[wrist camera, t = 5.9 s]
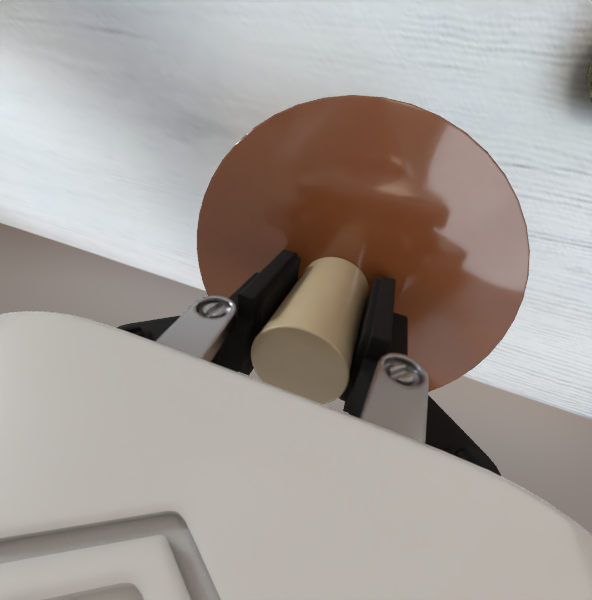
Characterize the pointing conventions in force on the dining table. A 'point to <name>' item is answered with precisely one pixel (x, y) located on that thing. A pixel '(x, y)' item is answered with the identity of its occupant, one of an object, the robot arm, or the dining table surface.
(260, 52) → the dining table surface
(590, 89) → the lime
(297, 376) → the lid
